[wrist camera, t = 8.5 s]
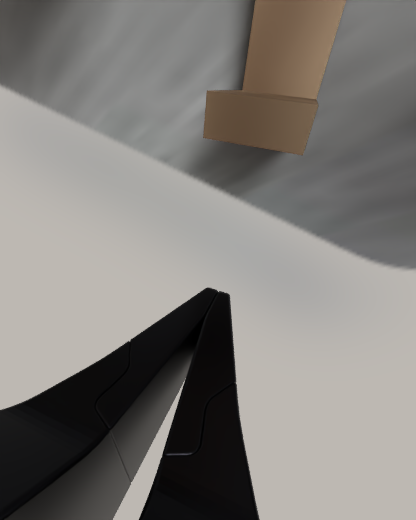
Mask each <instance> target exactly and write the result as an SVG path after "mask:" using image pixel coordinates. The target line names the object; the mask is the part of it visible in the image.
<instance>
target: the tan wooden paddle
mask: <svg viewBox="0 0 416 520" xmlns="http://www.w3.org/2000/svg"><path fill="white" fill-rule="evenodd" d="M345 2H346V0H255V7H254V14H253V21H252V27H251V34H250V41H249V48H248V55H247V61H246V68H245V75H244V82H243V89H242V90H219V91H207V96H206V109H205V122H204V136H203V138H207V139H212V140H218V141H224V142H230V143H235V144H241V145H247V146H252V147H258V148H264V149H270V150H275V151H281V152H287V153H292V154H298V155H303V153H304V150H305V147H306V144H307V140H308V137H309V134H310V131H311V128H312V124H313V121H314V118H315V115H316V111H317V108H318V103H317V100H316V98H317V95H318V92H319V88H320V85H321V82H322V78H323V75H324V72H325V68H326V65H327V62H328V59H329V55H330V52H331V49H332V45H333V42H334V39H335V35H336V32H337V29H338V25H339V22H340V19H341V16H342V12H343V9H344V6H345Z"/></svg>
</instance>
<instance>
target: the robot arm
mask: <svg viewBox="0 0 416 520" xmlns="http://www.w3.org/2000/svg"><path fill="white" fill-rule="evenodd" d="M185 378H186V379H185ZM184 380H185V383H184V386H183V389H182V392H181V396H180V399H179V402H178V406H177V409H176V412H175V415H174V419H173V422H172V425H171V428H170V431H169V435H168V438H167V441H166V444H165V447H164V451H163V455H162V458H161V460H160V464H159V467H158V470H157V473H156V476H155V479H154V482H153V485H152V487H151V490H150V493H149V495H148V498H147V501H146V503H145V506H144V508H143V511H142V513H141V516H140V518H139V520H260V519H259V515H258V511H257V506H256V502H255V496H254V491H253V486H252V481H251V476H250V471H249V466H248V461H247V456H246V451H245V445H244V440H243V434H242V428H241V422H240V416H239V406H238V397H237V385H236V373H235V359H234V346H233V332H232V319H231V305H230V295H229V294H228V293H224V292H221V291H219V292H218V291H217V290H215V289H212V288H206V289H204V290H203V291H201V292H200V293H198V294H197V295H195V296H194V297H192V298H191V299H190V300H188V301H187V302H185V303H184V304H182V305H181V306H179V307H178V308H176V309H175V310H173V311H172V312H171V313H169V314H168V315H166V316H165V317H163V318H162V319H160V320H159V321H157V322H156V323H155V324H153V325H152V326H150V327H149V328H147V329H146V330H145V331H143V332H141V333H140V334H139V335H137V336H136V337H134V338H133V339H131V341H130V342H129V341H128V342H127V343H125V344H124V345H122V346H121V347H119V348H118V349H116V350H115V351H113V352H112V353H110V354H109V355H107V356H106V357H104V358H102V359H101V360H99V361H97V362H96V363H94V364H92V365H90V366H89V367H87V368H85V369H84V370H82V371H80V372H79V373H76V374H75V375H73V376H71V377H69V378H67V379H66V380H64V381H62V382H60V383H58V384H56V385H55V386H53V387H51V388H49V389H48V390H46V391H44V392H42V393H40V394H38V395H37V396H35V397H33V398H31V399H29V400H26V401H24V402H22V403H19V404H17V405H14V406H12V407H9V408H6V409H2V410H0V520H113V518H114V516H115V514H116V512H117V510H118V508H119V506H120V504H121V502H122V500H123V498H124V496H125V494H126V492H127V491H128V489H129V487H130V485H131V482H132V481H133V479H134V477H135V475H136V473H137V471H138V469H139V467H140V465H141V463H142V461H143V460H144V458H145V456H146V454H147V452H148V450H149V448H150V446H151V444H152V442H153V440H154V438H155V436H156V434H157V432H158V430H159V428H160V427H161V425H162V423H163V421H164V419H165V417H166V415H167V413H168V411H169V409H170V407H171V405H172V403H173V401H174V400H175V398H176V396H177V394H178V392H179V390H180V388H181V386H182V384H183V382H184Z"/></svg>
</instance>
